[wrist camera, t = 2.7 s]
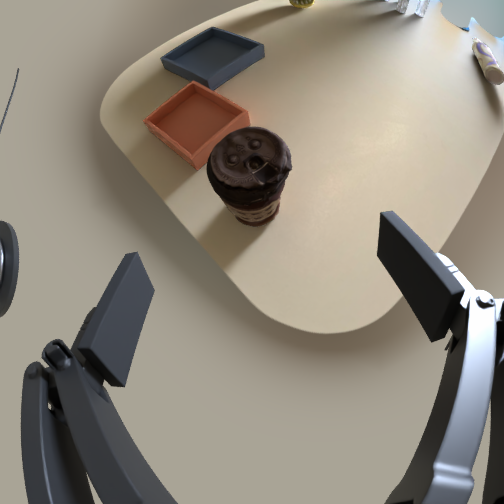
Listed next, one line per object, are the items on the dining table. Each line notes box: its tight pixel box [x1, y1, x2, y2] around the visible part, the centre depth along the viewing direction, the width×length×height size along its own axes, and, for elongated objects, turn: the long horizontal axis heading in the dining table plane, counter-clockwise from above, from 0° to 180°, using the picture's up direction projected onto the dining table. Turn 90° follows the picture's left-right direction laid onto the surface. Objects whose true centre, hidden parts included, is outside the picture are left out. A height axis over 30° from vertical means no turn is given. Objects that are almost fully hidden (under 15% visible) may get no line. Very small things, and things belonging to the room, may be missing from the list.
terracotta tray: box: [143, 80, 250, 171], centre depth 38 cm, size 13×11×3 cm
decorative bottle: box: [472, 38, 504, 85], centre depth 38 cm, size 26×8×7 cm, turn 160°
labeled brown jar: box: [207, 127, 292, 227], centre depth 30 cm, size 9×8×13 cm
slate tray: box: [160, 27, 265, 91], centre depth 42 cm, size 15×14×3 cm
